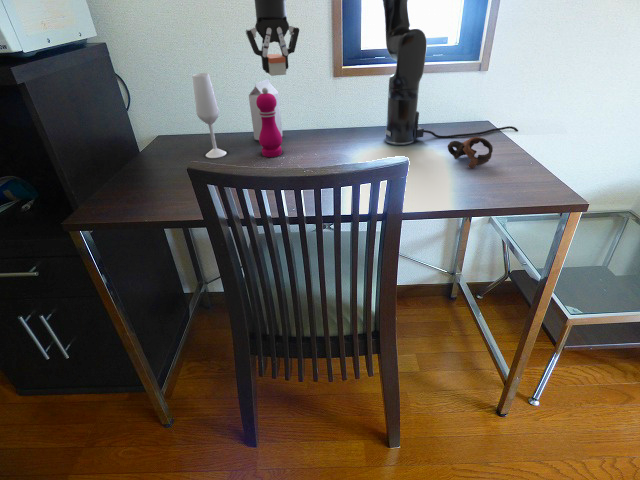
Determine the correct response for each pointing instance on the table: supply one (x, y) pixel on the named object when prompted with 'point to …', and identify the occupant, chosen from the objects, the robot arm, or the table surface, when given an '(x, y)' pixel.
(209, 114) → the champagne flute
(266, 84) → the milk carton
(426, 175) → the table surface
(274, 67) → the sushi
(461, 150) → the brown looped ring
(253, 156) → the table surface
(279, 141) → the pepper mill
